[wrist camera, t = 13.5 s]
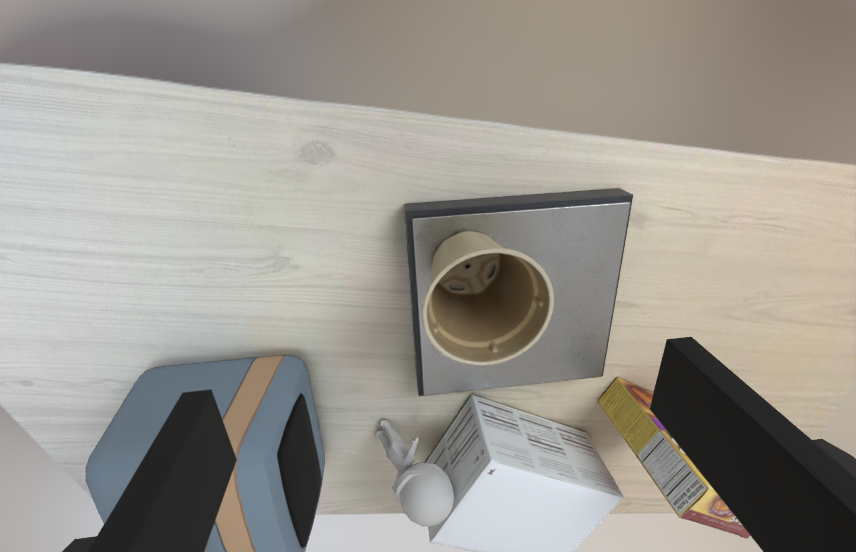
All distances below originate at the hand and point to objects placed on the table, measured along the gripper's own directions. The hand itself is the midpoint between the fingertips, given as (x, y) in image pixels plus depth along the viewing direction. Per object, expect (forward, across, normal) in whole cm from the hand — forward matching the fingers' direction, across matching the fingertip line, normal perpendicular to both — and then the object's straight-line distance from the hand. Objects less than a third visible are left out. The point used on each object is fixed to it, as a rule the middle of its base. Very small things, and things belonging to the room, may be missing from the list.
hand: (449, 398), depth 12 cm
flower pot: (+24, +5, -7) cm, 26 cm away
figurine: (+27, -4, -28) cm, 39 cm away
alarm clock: (+27, -19, -24) cm, 41 cm away
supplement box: (+27, +10, -34) cm, 45 cm away
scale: (+27, +10, -12) cm, 31 cm away
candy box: (+27, +26, -28) cm, 47 cm away
